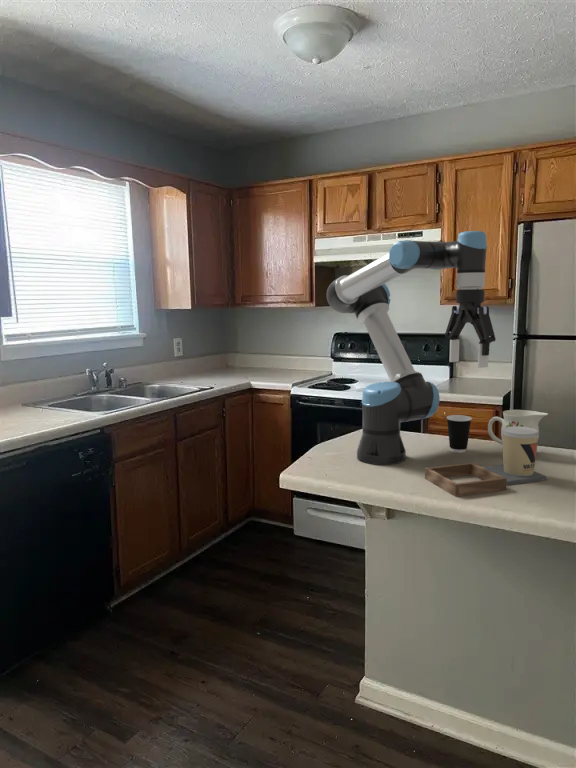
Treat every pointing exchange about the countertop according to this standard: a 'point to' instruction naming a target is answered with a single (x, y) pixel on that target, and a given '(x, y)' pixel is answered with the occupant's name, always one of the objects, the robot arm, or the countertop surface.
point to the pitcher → (516, 421)
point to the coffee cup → (519, 450)
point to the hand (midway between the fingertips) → (467, 364)
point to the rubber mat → (512, 478)
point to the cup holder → (487, 483)
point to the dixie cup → (458, 432)
